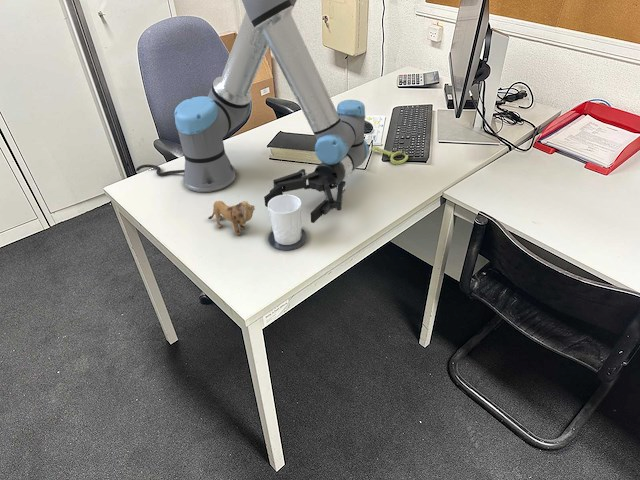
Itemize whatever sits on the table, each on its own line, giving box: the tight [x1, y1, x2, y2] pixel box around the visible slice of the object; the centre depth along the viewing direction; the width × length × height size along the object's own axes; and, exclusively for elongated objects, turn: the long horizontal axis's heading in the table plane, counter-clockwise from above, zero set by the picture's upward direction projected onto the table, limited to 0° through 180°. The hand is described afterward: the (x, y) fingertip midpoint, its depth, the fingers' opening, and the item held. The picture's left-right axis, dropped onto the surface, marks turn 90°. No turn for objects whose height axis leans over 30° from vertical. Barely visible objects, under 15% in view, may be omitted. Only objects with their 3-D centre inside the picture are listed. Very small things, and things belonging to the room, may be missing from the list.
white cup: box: [267, 194, 303, 245], centre depth 103 cm, size 8×8×10 cm
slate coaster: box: [267, 227, 308, 252], centre depth 106 cm, size 10×10×1 cm
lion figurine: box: [208, 200, 256, 236], centre depth 108 cm, size 15×5×9 cm, turn 65°
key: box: [370, 145, 409, 165], centre depth 136 cm, size 7×12×2 cm, turn 71°
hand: (288, 209), depth 103 cm, fingers open, 13 cm apart
